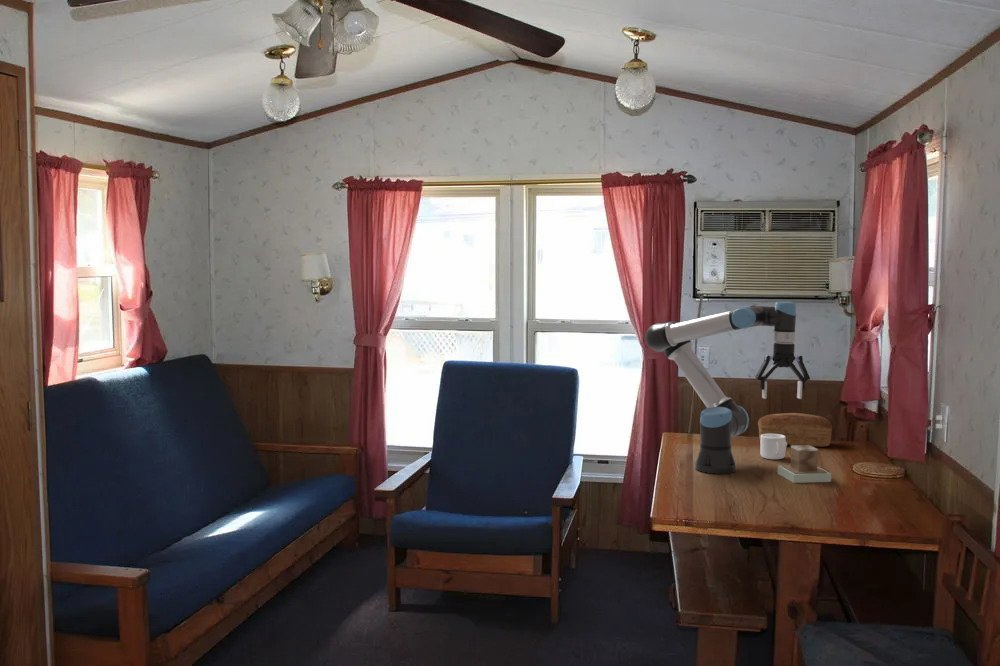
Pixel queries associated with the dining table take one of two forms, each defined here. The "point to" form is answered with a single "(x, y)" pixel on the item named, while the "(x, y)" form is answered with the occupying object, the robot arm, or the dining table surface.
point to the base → (804, 475)
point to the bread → (797, 428)
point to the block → (804, 458)
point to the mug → (773, 446)
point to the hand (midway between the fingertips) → (781, 398)
